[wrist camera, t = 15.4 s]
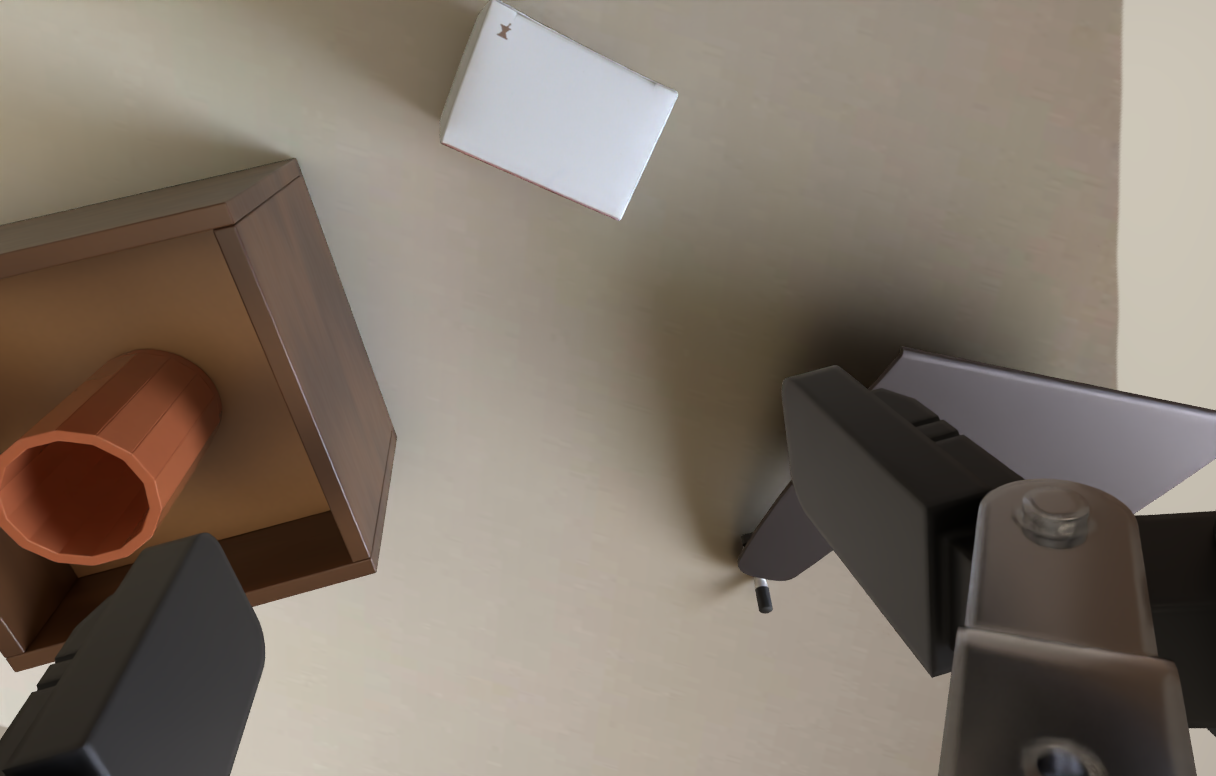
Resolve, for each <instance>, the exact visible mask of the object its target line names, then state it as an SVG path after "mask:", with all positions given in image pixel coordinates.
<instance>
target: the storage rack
mask: <svg viewBox="0 0 1216 776" xmlns="http://www.w3.org/2000/svg"><path fill="white" fill-rule="evenodd" d="M142 349H152V350H161V351H166V352H170V353H174V354H176V355H179V356H181V357H183V358H185V359H187V360H189V361H191V362H192V363H194V364H195V365H197V366H198V367H199V368H200V369H201V370H203V371H204V372H205V373H206V374H207V376H208V377H209V378H210V379H211V381H212V382H213V383H214V385H215V387H216V389H217V391H218V393H219V396H220V399H221V404H222V419H221V423H220V426H219V429H218V431H217V433H216V434H215V436H214V438H213V441H212V443H211V445H210V446H209V448H208V450H207V451H206V453H205V454H204V456H203V457H202V459H201V461H200V462H199V464H198V465H197V467H196V469H195V470H194V472H193V473H192V475H191V476H190V478H189V480H188V481H187V483H186V484H185V486H184V487H183V489H182V491H181V492H180V494H179V495H178V497H177V499H176V500H175V502H174V503H173V505H172V506H171V508H170V510H169V511H168V513H167V514H166V516H165V518H164V519H163V521H162V522H161V524H160V525H159V527H158V529H157V530H156V532H155V533H154V535H153V536H152V538H150V539H149V540H148V541H147V542H146V543H144V544H143V545H142V546H141V547H139V548H138V549H137V550H136V551H135V552H133V553H132V554H131V555H130V556H128V557H125V558H121V559H117V560H114V561H110V562H106V563H102V564H99V565H93V566H91V565H79V564H68V563H57V562H54V561H51V560H49V559H47V558H45V557H42V556H40V555H38V554H35V553H33V552H31V551H29V550H26V549H24V548H22V547H21V546H19V545H18V544H17V543H16V542H15V541H14V540H13V539H12V538H11V537H10V536H9V535H8V534H7V533H6V532H5V531H4V530H3V529H2V528H1V527H0V652H1V653H2V654H3V656H4V657H5V658H6V660H7V661H8V663H9V664H10V666H11V667H12V668H13V670H14V671H15V672H19V671H22V670H26V669H29V668H33V667H37V666H40V665H44V664H48V663H51V662H55V657H56V656H57V654H58V653H59V651H60V650H61V648H62V647H63V645H64V644H65V642H66V641H67V639H68V638H69V636H70V635H71V633H72V632H73V630H74V629H75V627H76V626H77V625H78V624H79V623H80V622H82V621H83V620H84V619H85V618H86V617H87V616H88V615H89V614H90V613H91V612H93V611H94V610H95V609H96V608H97V607H98V606H99V605H100V604H101V603H102V602H104V601H105V600H106V599H107V598H108V597H109V596H110V595H114V593H115V592H116V590H117V589H118V587H119V586H120V584H121V582H122V581H123V579H124V578H125V576H126V575H127V573H128V571H129V570H130V568H131V567H132V565H133V564H134V562H135V560H136V559H137V557H138V556H139V554H140V553H141V552H142V550H144V549H145V548H148V547H151V546H155V545H158V544H162V543H166V542H169V541H173V540H177V539H181V538H184V537H188V536H192V535H196V534H199V533H203V532H204V533H209V534H211V535H212V536H214V537H215V538H216V539H217V541H218V542H219V543H220V545H221V547H222V549H223V551H224V553H225V555H226V557H227V559H228V561H229V563H230V565H231V567H232V569H233V570H234V572H235V574H236V576H237V578H238V580H239V582H240V584H241V586H242V588H243V590H244V592H245V594H246V596H247V598H248V600H249V602H250V604H251V606H252V607H254V606H257V605H261V604H265V603H268V602H272V601H275V600H279V599H283V598H286V597H290V596H293V595H297V594H301V593H304V592H308V591H312V590H315V589H319V588H322V587H326V586H330V585H333V584H337V583H340V582H344V581H348V580H351V579H355V578H359V577H362V576H366V575H369V574H373V573H376V572H377V566H378V559H379V552H380V546H381V539H382V533H383V526H384V519H385V513H386V506H387V500H388V493H389V487H390V480H391V473H392V467H393V460H394V454H395V447H396V440H397V436H396V433H395V430H394V428H393V425H392V422H391V419H390V417H389V414H388V411H387V408H386V406H385V403H384V400H383V397H382V394H381V392H380V389H379V386H378V383H377V381H376V378H375V375H374V372H373V370H372V367H371V364H370V361H369V358H368V356H367V353H366V350H365V347H364V345H363V342H362V339H361V336H360V334H359V331H358V328H357V325H356V322H355V320H354V317H353V314H352V311H351V309H350V306H349V303H348V300H347V298H346V295H345V292H344V289H343V286H342V284H341V281H340V278H339V275H338V273H337V270H336V267H335V264H334V262H333V259H332V256H331V253H330V251H329V248H328V245H327V242H326V239H325V237H324V234H323V231H322V228H321V226H320V223H319V220H318V217H317V215H316V212H315V209H314V206H313V203H312V201H311V198H310V195H309V192H308V190H307V187H306V184H305V181H304V179H303V176H302V173H301V170H300V167H299V165H298V162H297V159H296V158H293V159H289V160H285V161H280V162H276V163H271V164H267V165H263V166H258V167H254V168H250V169H245V170H241V171H236V172H232V173H228V174H223V175H219V176H215V177H210V178H206V179H201V180H197V181H193V182H188V183H184V184H180V185H175V186H171V187H167V188H162V189H158V190H153V191H149V192H145V193H140V194H136V195H132V196H127V197H123V198H118V199H114V200H110V201H105V202H101V203H97V204H92V205H88V206H83V207H79V208H75V209H70V210H66V211H62V212H57V213H53V214H49V215H44V216H40V217H35V218H31V219H27V220H22V221H18V222H14V223H9V224H5V225H0V454H2V453H3V452H4V451H5V450H6V449H7V448H8V447H10V446H11V445H12V444H13V443H14V442H15V441H17V440H18V439H19V438H20V437H21V436H22V435H23V434H25V433H26V432H27V431H28V430H29V429H30V428H31V427H33V426H34V425H35V424H36V423H37V422H38V421H39V420H41V419H42V418H43V417H44V416H45V415H46V414H48V413H49V412H50V411H51V410H52V409H53V408H54V407H56V406H57V405H58V404H59V403H60V402H61V401H62V400H64V399H65V398H66V397H67V396H68V395H69V394H71V393H72V392H73V391H74V390H75V389H76V388H77V387H79V386H80V385H81V384H82V383H83V382H84V381H85V380H87V379H88V378H89V377H90V376H91V375H92V374H94V373H95V372H96V371H97V370H98V369H99V368H100V367H102V366H103V365H104V364H105V363H106V362H107V361H109V360H111V359H112V358H114V357H116V356H118V355H120V354H123V353H126V352H129V351H134V350H142Z"/></svg>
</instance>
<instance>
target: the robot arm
mask: <svg viewBox="0 0 1216 776" xmlns="http://www.w3.org/2000/svg"><path fill="white" fill-rule="evenodd" d="M782 402H783V411H784V419H785V428H786V436H787V445H788V454H789V462H790V471H791V477H792V482H793V485H794V489H795V492H796V495H797V498H798V500H799V502H800V505H801V507H802V509H803V510H804V512H805V514H806V515H807V517H808V518H809V519H810V520H811V522H812V523H813V524H814V526H815V527H816V528H817V530H818V531H819V532H820V533H821V535H822V536H823V537H824V539H825V540H826V541H827V542H828V544H829V545H830V546H831V548H832V549H833V550H834V552H835V553H836V554H837V555H838V557H839V558H840V559H841V561H842V562H843V563H844V564H845V566H846V567H847V568H848V570H849V571H850V572H851V574H852V575H853V576H854V577H855V579H856V580H857V581H858V583H859V584H860V585H861V586H862V588H863V589H864V590H865V592H866V593H867V594H868V596H869V597H870V598H871V599H872V601H873V602H874V603H875V605H876V606H877V607H878V608H879V610H880V611H881V612H882V614H883V615H884V616H885V618H886V619H887V620H888V621H889V623H890V624H891V625H892V627H893V628H894V629H895V630H896V632H897V633H898V634H899V636H900V637H901V638H902V640H903V641H904V642H905V643H906V645H907V646H908V647H909V649H910V650H911V651H912V652H913V654H914V655H915V656H916V658H917V659H918V660H919V661H920V663H921V664H922V665H923V667H924V668H925V669H926V671H927V672H928V673H929V674H930V676H931V677H932V678H933V677H936V676H939V675H942V674H946V673H949V672H951V679H950V687H949V695H948V703H947V710H946V718H945V726H944V734H943V741H942V749H941V757H940V765H939V772H938V776H1197V774H1196V768H1195V763H1194V757H1193V752H1192V746H1191V740H1190V734H1189V728H1207V729H1208V730H1209V731H1210V732H1211V733H1212V734H1213V735H1214V736H1215V737H1216V511H1210V512H1193V513H1177V514H1160V515H1139V516H1134V514H1133V513H1132V511H1131V510H1130V509H1129V508H1128V507H1127V506H1126V505H1125V504H1124V503H1123V502H1121V501H1120V500H1119V499H1117V498H1116V497H1114V496H1112V495H1110V494H1108V493H1107V492H1105V491H1102V490H1100V489H1097V488H1095V487H1092V486H1089V485H1085V484H1082V483H1078V482H1073V481H1068V480H1060V479H1043V478H1040V479H1026V480H1025V479H1024V478H1022V477H1021V476H1019V475H1018V474H1017V473H1015V472H1014V471H1013V470H1011V469H1010V468H1009V467H1007V466H1006V465H1005V464H1003V463H1002V462H1000V461H999V460H998V459H996V458H995V457H994V456H992V455H991V454H990V453H988V452H987V451H985V450H984V449H983V448H981V447H980V446H979V445H977V444H976V443H975V442H973V441H972V440H971V439H969V438H968V437H966V436H965V435H964V434H963V435H960V434H959V432H958V430H957V429H956V428H954V427H953V426H952V425H950V424H949V423H947V422H946V421H945V420H940V419H939V416H938V415H937V414H935V413H934V412H932V411H931V410H930V409H928V408H927V407H926V406H924V405H923V404H922V403H920V402H919V401H918V400H916V399H914V398H911V397H908V396H905V395H902V394H899V393H896V392H893V391H890V390H886V389H883V388H879V389H875V390H872V391H870V390H868V389H867V388H866V387H865V386H863V385H862V384H861V383H859V382H858V381H857V380H856V379H854V378H853V377H852V376H851V375H849V374H848V373H847V372H846V371H844V370H843V369H842V368H841V367H839V366H836V365H834V366H830V367H826V368H822V369H818V370H815V371H811V372H807V373H803V374H800V375H796V376H792V377H788V378H786V379H784V381H783V384H782ZM264 662H265V643H264V636H263V632H262V628H261V625H260V622H259V620H258V618H257V616H256V614H255V612H254V610H253V608H252V606H251V604H250V602H249V600H248V598H247V596H246V594H245V592H244V590H243V588H242V586H241V584H240V582H239V580H238V578H237V576H236V574H235V572H234V570H233V569H232V567H231V565H230V563H229V561H228V559H227V557H226V555H225V553H224V551H223V549H222V547H221V545H220V543H219V542H218V541H217V539H216V538H215V537H214V536H212V535H211V534H209V533H204V532H203V533H199V534H196V535H192V536H188V537H184V538H181V539H177V540H173V541H169V542H166V543H162V544H158V545H155V546H151V547H148V548H145V549H144V550H142V552H141V553H140V554H139V556H138V557H137V559H136V560H135V562H134V564H133V565H132V567H131V568H130V570H129V571H128V573H127V575H126V576H125V578H124V579H123V581H122V582H121V584H120V586H119V587H118V589H117V590H116V592H115V593H114V595H110V596H109V597H108V598H107V599H106V600H105V601H104V602H102V603H101V604H100V605H99V606H98V607H97V608H96V609H95V610H94V611H93V612H91V613H90V614H89V615H88V616H87V617H86V618H85V619H84V620H83V621H82V622H80V623H79V624H78V625H77V626H76V627H75V629H74V630H73V632H72V633H71V635H70V636H69V638H68V639H67V641H66V642H65V644H64V645H63V647H62V648H61V650H60V651H59V653H58V654H57V656H56V657H55V664H52V665H50V666H49V668H48V669H47V671H46V672H45V674H44V675H43V677H42V678H41V680H40V681H39V683H38V684H37V688H38V689H37V691H35V692H32V693H31V695H30V696H29V698H28V699H27V701H26V702H25V703H24V705H23V706H22V708H21V709H20V711H19V712H18V714H17V715H16V717H15V718H14V720H13V721H12V723H11V724H10V726H9V727H8V729H7V730H6V732H5V733H4V735H3V736H2V738H1V740H0V776H230V773H231V770H232V767H233V764H234V760H235V757H236V754H237V751H238V748H239V744H240V741H241V738H242V735H243V732H244V729H245V725H246V722H247V719H248V716H249V713H250V709H251V706H252V703H253V700H254V697H255V693H256V690H257V687H258V684H259V681H260V678H261V674H262V671H263V668H264Z"/></svg>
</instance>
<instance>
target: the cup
mask: <svg viewBox="0 0 1216 776" xmlns="http://www.w3.org/2000/svg"><path fill="white" fill-rule="evenodd" d="M221 419H222V404H221V399H220V396H219V393H218V391H217V389H216V387H215V385H214V383H213V382H212V381H211V379H210V378H209V377H208V376H207V374H206V373H205V372H204V371H203V370H201V369H200V368H199V367H198V366H197V365H195V364H194V363H192V362H191V361H189V360H187V359H185V358H183V357H181V356H179V355H176V354H174V353H170V352H166V351H161V350H152V349H142V350H134V351H129V352H126V353H123V354H120V355H118V356H116V357H114V358H112V359H111V360H109V361H107V362H106V363H105V364H104V365H103V366H102V367H100V368H99V369H98V370H97V371H96V372H95V373H94V374H92V375H91V376H90V377H89V378H88V379H87V380H85V381H84V382H83V383H82V384H81V385H80V386H79V387H77V388H76V389H75V390H74V391H73V392H72V393H71V394H69V395H68V396H67V397H66V398H65V399H64V400H62V401H61V402H60V403H59V404H58V405H57V406H56V407H54V408H53V409H52V410H51V411H50V412H49V413H48V414H46V415H45V416H44V417H43V418H42V419H41V420H39V421H38V422H37V423H36V424H35V425H34V426H33V427H31V428H30V429H29V430H28V431H27V432H26V433H25V434H23V435H22V436H21V437H20V438H19V439H18V440H17V441H15V442H14V443H13V444H12V445H11V446H10V447H8V448H7V449H6V450H5V451H4V452H3V453H2V454H0V527H1V528H2V529H3V530H4V531H5V532H6V533H7V534H8V535H9V536H10V537H11V538H12V539H13V540H14V541H15V542H16V543H17V544H18V545H19V546H21V547H22V548H24V549H26V550H29V551H31V552H33V553H35V554H38V555H40V556H42V557H45V558H47V559H49V560H51V561H54V562H57V563H68V564H79V565H91V566H93V565H99V564H102V563H106V562H110V561H114V560H117V559H121V558H125V557H128V556H130V555H131V554H132V553H133V552H135V551H136V550H137V549H138V548H139V547H141V546H142V545H143V544H144V543H146V542H147V541H148V540H149V539H150V538H152V536H153V535H154V533H155V532H156V530H157V529H158V527H159V525H160V524H161V522H162V521H163V519H164V518H165V516H166V514H167V513H168V511H169V510H170V508H171V506H172V505H173V503H174V502H175V500H176V499H177V497H178V495H179V494H180V492H181V491H182V489H183V487H184V486H185V484H186V483H187V481H188V480H189V478H190V476H191V475H192V473H193V472H194V470H195V469H196V467H197V465H198V464H199V462H200V461H201V459H202V457H203V456H204V454H205V453H206V451H207V450H208V448H209V446H210V445H211V443H212V441H213V438H214V436H215V434H216V433H217V431H218V429H219V426H220V423H221Z"/></svg>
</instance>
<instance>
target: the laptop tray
mask: <svg viewBox="0 0 1216 776" xmlns="http://www.w3.org/2000/svg"><path fill="white" fill-rule="evenodd" d="M879 388H883V389H886V390H890V391H893V392H896V393H899V394H902V395H905V396H908V397H911V398H914V399H916V400H918V401H919V402H920V403H922V404H923V405H924V406H926V407H927V408H928V409H930V410H931V411H932V412H934V413H935V414H937V415H938V416H939V419H940V420H945V421H946V422H947V423H949V424H950V425H952V426H953V427H954V428H956V429H957V430H958V432H959V434H960V435H963V434H964V435H965V436H966V437H968V438H969V439H971V440H972V441H973V442H975V443H976V444H977V445H979V446H980V447H981V448H983V449H984V450H985V451H987V452H988V453H990V454H991V455H992V456H994V457H995V458H996V459H998V460H999V461H1000V462H1002V463H1003V464H1005V465H1006V466H1007V467H1009V468H1010V469H1011V470H1013V471H1014V472H1015V473H1017V474H1018V475H1019V476H1021V477H1022V478H1024V479H1025V480H1026V479H1040V478H1043V479H1060V480H1068V481H1073V482H1078V483H1082V484H1085V485H1089V486H1092V487H1095V488H1097V489H1100V490H1102V491H1105V492H1107V493H1108V494H1110V495H1112V496H1114V497H1116V498H1117V499H1119V500H1120V501H1121V502H1123V503H1124V504H1125V505H1126V506H1127V507H1128V508H1129V509H1130V510H1131V511H1132V513H1133V514H1135V513H1136V512H1138V511H1139V510H1141V509H1142V508H1144V507H1145V506H1147V505H1148V504H1150V503H1151V502H1153V501H1154V500H1156V499H1157V498H1159V497H1160V496H1162V495H1163V494H1165V493H1166V492H1167V491H1169V490H1171V489H1172V488H1174V487H1175V486H1177V485H1178V484H1180V483H1181V482H1182V481H1184V480H1185V479H1187V478H1188V477H1190V476H1191V475H1193V474H1194V473H1196V472H1197V471H1198V470H1200V469H1201V468H1203V467H1204V466H1206V465H1207V464H1209V463H1210V462H1212V461H1213V460H1214V459H1216V410H1211V409H1207V408H1201V407H1197V406H1192V405H1187V404H1182V403H1177V402H1172V401H1167V400H1162V399H1157V398H1152V397H1148V396H1142V395H1138V394H1132V393H1128V392H1122V391H1118V390H1113V389H1108V388H1103V387H1098V386H1094V385H1089V384H1084V383H1079V382H1074V381H1069V380H1064V379H1059V378H1054V377H1049V376H1044V375H1040V374H1035V373H1030V372H1025V371H1020V370H1015V369H1010V368H1005V367H1000V366H995V365H990V364H986V363H981V362H976V361H971V360H966V359H961V358H956V357H951V356H946V355H941V354H936V353H932V352H927V351H922V350H917V349H912V348H907V347H902V346H901V347H900V351H899V355H898V356H897V357H896V358H895V359H894V360H893V362H892V363H891V364H890V365H889V366H888V367H887V368H886V369H885V371H884V372H883V373H882V374H881V375H880V376H879V377H878V378H877V380H876V381H875V382H874V383H873V384H872V385H871V386H870V387H869V389H868V390H870V391H872V390H875V389H879ZM741 538H742V544H743V546H744V549H743V550H742V552H741V554H740V556H739V558H738V567H739V569H740V570H741V571H742V572H743V573H745V574H747V575H750V576H753V577H755V579H754V582H755V588H756V589H755V591H756V596H757V602H758V607H759V611H760V612H761V613H769V612H771V611H772V609H773V608H772V603H771V598H770V593H769V588H768V587H767V582H766V579H768V580H775V581H786V580H790V579H792V578H794V577H796V576H797V575H799V574H800V573H802V572H803V571H805V570H806V569H807V568H809V567H810V566H812V565H813V564H815V563H816V562H817V561H819V560H820V559H822V558H823V557H824V556H826V555H827V554H828V553H830V552H831V551H833V549H832V548H831V546H830V545H829V544H828V542H827V541H826V540H825V539H824V537H823V536H822V535H821V533H820V532H819V531H818V530H817V528H816V527H815V526H814V524H813V523H812V522H811V520H810V519H809V518H808V517H807V515H806V514H805V512H804V510H803V509H802V507H801V505H800V502H799V500H798V498H797V495H796V492H795V489H794V485H793V482H792V480H791V481H790V483H789V484H788V485H787V486H786V488H785V489H784V490H783V492H782V493H781V494H780V496H779V497H778V498H777V500H776V501H775V502H774V504H773V505H772V507H771V508H770V509H769V511H768V512H767V514H766V515H765V516H764V518H763V519H762V521H761V522H760V524H759V525H758V526H757V528H756V529H755V531H754V532H753V533H750V534H745V535H742V536H741Z"/></svg>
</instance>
